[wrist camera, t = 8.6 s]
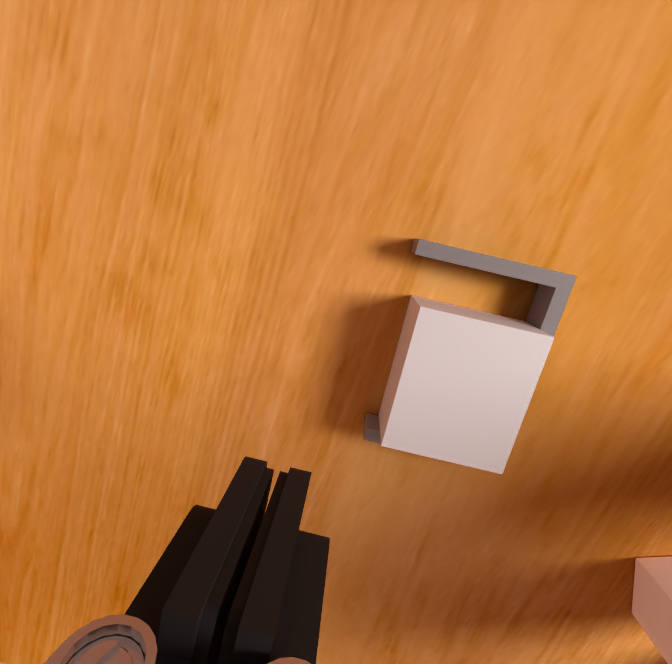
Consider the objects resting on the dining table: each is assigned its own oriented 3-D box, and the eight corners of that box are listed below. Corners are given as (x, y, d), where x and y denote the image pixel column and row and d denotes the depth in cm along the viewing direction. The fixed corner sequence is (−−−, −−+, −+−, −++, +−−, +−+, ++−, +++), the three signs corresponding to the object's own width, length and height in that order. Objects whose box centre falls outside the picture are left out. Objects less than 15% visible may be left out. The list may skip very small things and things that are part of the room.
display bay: (558, 272, 27) (577, 276, 25) (489, 453, 31) (500, 472, 29) (414, 238, 27) (419, 239, 25) (363, 423, 31) (363, 439, 29)
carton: (522, 320, 29) (554, 337, 24) (480, 437, 31) (502, 474, 26) (411, 294, 29) (420, 306, 24) (378, 413, 31) (381, 445, 26)
